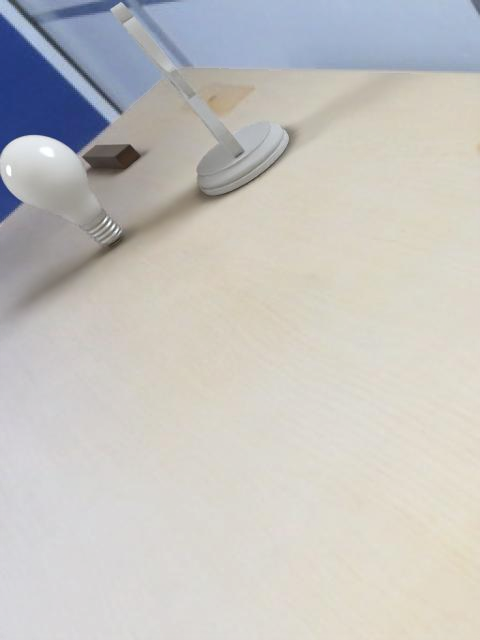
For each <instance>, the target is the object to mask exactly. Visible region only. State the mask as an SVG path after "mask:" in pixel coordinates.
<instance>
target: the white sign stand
mask: <svg viewBox="0 0 480 640" xmlns="http://www.w3.org/2000/svg"><path fill="white" fill-rule="evenodd" d="M109 10H110V11H111V13H112V14H113V16H114V18H115V19H117V21H118V22H119V23H120V25H121V26H122V27H123V28H124V29H125V31H126V32H127V34H128V35H129V36H130V37H131V39H133V41H134V42H135V43H136V44H137V46H138V47H139V48H140V50H142V52H143V53H144V54H145V56H147V58H148V59H149V60H150V61H151V63H152V64H153V65H154V66H155V68H156V69H157V70H158V71H159V72H160V73H161V74H162V76H163V77H164V78H165V79H166V80H167V82H168V83H169V84H170V85H171V87H172V88H173V89H174V90H175V91H176V92H177V94H178V95H179V96H180V97H181V98H182V100H183V101H184V102H185V104H187V105H188V107H189V109H191V110H192V112H193V113H194V114H195V115H196V117H197V118H198V119H199V120H200V122H201V123H202V124H203V126H205V128H206V129H207V130H208V132H210V133H211V135H212V136H213V137H214V138H215V140H216V141H217V143H216V144H215V145H213V147H211V148H210V149H209V150H208V151H207V152H206V153H205V155H204V156H202V158H201V159H200V160H199V162H198V164H197V166H196V170H195V171H196V174H197V175H196V183H197V185H198V186H199V188H200V190H201V191H202V192H203V193H204V194H205V195H207V196H220V195H224V194H227V193H229V192H232V191H234V190H236V189H238V188H240V187H242V186H244V185H246V184H247V183H250V182H251V181H252V180H254V179H256V178H257V177H258V176H259V175H261V174H262V173H264V172H265V171H266V170H267V169H268V168H270V167H271V166H272V165H273V164H274V163H275V162H276V161H277V160H278V159H279V158H280V157H281V155H282V154H283V153H284V152H285V150H286V149H287V147H288V145H289V142H290V137H289V134H288V133H287V131H286V130H285V129H284V128H282V126H281V125H279V124H277V123H270V121H268V120H260V121H255V122H252V123H249V124H247V125H244V126H243V127H240V128H239V129H237V130H235V131H233V132H230V130H229V129H228V128H227V127H226V125H225V124H224V123H223V122H222V120H221V119H220V118H219V117H218V116H217V115H216V113H215V112H214V111H213V110H212V109H211V108H210V107H209V106H208V104H207V103H206V102H205V101H204V99H203V98H202V97H201V96H200V94H198V92H196V90H195V89H194V87H192V86H191V84H190V83H189V82H188V81H187V80H186V78H185V77H184V76H183V75H182V73H181V72H180V71H179V69H178V68H177V67H176V66H175V64H174V63H173V62H172V61H171V60H170V58H169V57H168V56H167V55H166V53H165V52H164V50H162V48H161V47H160V46H159V44H158V43H157V42H156V40H155V39H154V38H153V37H152V35H151V34H150V33H149V32H148V30H147V29H146V28H145V27H144V26H143V24H141V22H140V21H139V20H138V19H137V18H136V16H134V14H133V13H132V12H131V10H129V8H127V6H126V5H125V4H124V3H123V2H122V1H120V2H118V4H116V5H114V6H113V7H111V8H110V9H109Z"/></svg>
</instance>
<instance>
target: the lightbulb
mask: <svg viewBox="0 0 480 640" xmlns="http://www.w3.org/2000/svg"><path fill="white" fill-rule="evenodd" d="M0 178H1V180H2V182H3V184H4V185H5V187H6V188H7V189H8V190H9V192H10V193H11V194H12V195H13V196H14V197H16V199H18V200H20V201H21V202H22V203H24V204H26V205H28V206H30V207H32V208H35V209H37V210H41V211H44V212H48V213H52V214H54V215H56V216H59V217H60V218H63V219H64V220H66V221H67V222H69V223H70V224H72V225H74V226H78V227H79V228H80V229H81V230H82V231H84V232H86V235H89V236H90V238H91V239H93V240H94V242H97V244H98V246H100V247H105V246H115V245H116V244H118V243H119V242H121V239H122V235H123V230H124V229H123V227H122V226H121V224H119V223H118V222H117V221H116V220H114V218H113V217H112V216H110V214H109V213H107V211H106V210H105V209H104V208H103V207H102V204H101V202H100V200H99V199H98V198H97V196H96V194H95V193H94V192H93V190H92V187H91V183H90V181H89V177H88V173H87V171H86V168H85V165H84V163H83V161H82V160H81V158H80V156H79V155H78V154H77V153H76V152H75V151H74V150H73V149H72V148H70V147H69V146H68V145H66V144H65V143H64V142H62V141H60V140H58V139H55V138H52V137H49V136H45V135H41V134H39V135H38V134H29V135H23V136H20V137H17V138H15V139H13V140H12V141H10V142H9V143H8V144H7V145H5V146H4V148H3V149H2V151H1V153H0Z"/></svg>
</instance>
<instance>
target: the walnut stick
mask: <svg viewBox="0 0 480 640" xmlns="http://www.w3.org/2000/svg"><path fill="white" fill-rule="evenodd" d="M140 157H141V154H140V153H139V152H138V151H137V150H136V149H135V148H134V147H133V146H132V145H131V143H122V144H121V143H117V144H115V143H113V144H95V145H93V146H92V148H90V149H89V150H88V151H87V152H85V153H84V154H83V155H82V156H81V158H82V159H83V160H84V161H85V162H86V163H87V164H88V165H89V166H90V167H91V168H93V169H94V168H95V169H96V168H97V169H103V168H104V169H127V168H128V167H129V166H131V165H132V164H133V163H134V162H135V161H137V160H138V159H139V158H140Z"/></svg>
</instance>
